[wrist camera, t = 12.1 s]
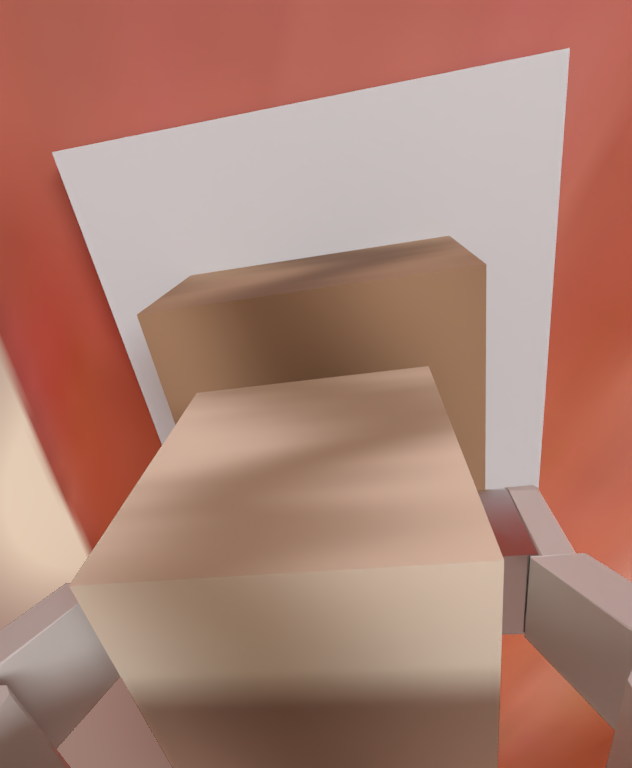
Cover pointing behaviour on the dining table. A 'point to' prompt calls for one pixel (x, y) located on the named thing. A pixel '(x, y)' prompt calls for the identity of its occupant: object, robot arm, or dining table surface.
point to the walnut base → (332, 327)
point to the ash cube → (307, 582)
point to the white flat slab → (351, 211)
